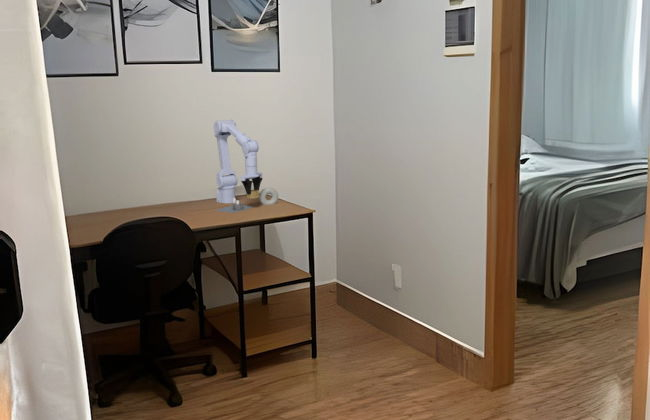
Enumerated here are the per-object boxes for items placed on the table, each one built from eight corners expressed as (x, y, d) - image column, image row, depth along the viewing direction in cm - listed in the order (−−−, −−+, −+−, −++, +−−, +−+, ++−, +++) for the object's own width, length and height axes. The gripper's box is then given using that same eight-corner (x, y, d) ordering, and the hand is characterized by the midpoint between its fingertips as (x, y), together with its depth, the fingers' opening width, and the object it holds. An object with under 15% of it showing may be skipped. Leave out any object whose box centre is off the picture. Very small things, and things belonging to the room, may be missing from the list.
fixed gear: (230, 210, 311) (230, 204, 310) (236, 208, 316) (235, 202, 315) (240, 210, 309) (239, 204, 308) (245, 208, 314) (245, 202, 313)
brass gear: (245, 198, 311) (244, 191, 310) (252, 196, 316) (251, 189, 315) (254, 198, 308) (253, 191, 308) (261, 196, 313) (260, 189, 312)
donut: (277, 205, 328) (276, 186, 326) (279, 206, 324) (278, 187, 322) (258, 206, 324) (257, 187, 322) (260, 208, 321) (259, 188, 319)
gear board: (214, 213, 312) (213, 201, 310) (235, 207, 325) (234, 195, 324) (234, 215, 305) (233, 203, 304) (255, 209, 318) (254, 197, 317)
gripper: (248, 168, 301) (249, 196, 304) (266, 164, 313) (268, 191, 316) (236, 167, 304) (238, 195, 307) (255, 163, 316) (256, 190, 319)
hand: (252, 193), depth 312 cm, fingers closed on brass gear, 6 cm apart
